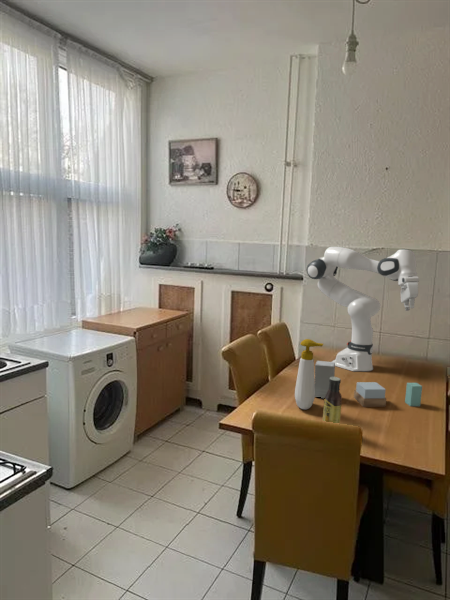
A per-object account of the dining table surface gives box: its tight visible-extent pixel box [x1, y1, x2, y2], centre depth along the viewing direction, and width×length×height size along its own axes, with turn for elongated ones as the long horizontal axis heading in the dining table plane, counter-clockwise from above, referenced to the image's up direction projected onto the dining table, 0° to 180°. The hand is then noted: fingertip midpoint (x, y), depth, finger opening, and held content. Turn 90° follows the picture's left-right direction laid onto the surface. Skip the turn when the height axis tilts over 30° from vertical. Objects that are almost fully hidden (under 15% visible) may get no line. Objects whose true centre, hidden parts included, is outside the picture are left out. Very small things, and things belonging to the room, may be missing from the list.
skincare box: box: [314, 360, 336, 399], centre depth 195 cm, size 8×7×16 cm
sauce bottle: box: [322, 376, 342, 423], centre depth 161 cm, size 7×6×20 cm
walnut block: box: [353, 389, 387, 408], centre depth 191 cm, size 10×10×4 cm
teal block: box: [404, 382, 423, 407], centre depth 190 cm, size 4×4×9 cm
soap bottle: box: [294, 338, 324, 410], centre depth 181 cm, size 13×10×29 cm
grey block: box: [355, 381, 386, 398], centre depth 190 cm, size 9×9×4 cm
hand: (409, 309), depth 211 cm, fingers open, 8 cm apart
